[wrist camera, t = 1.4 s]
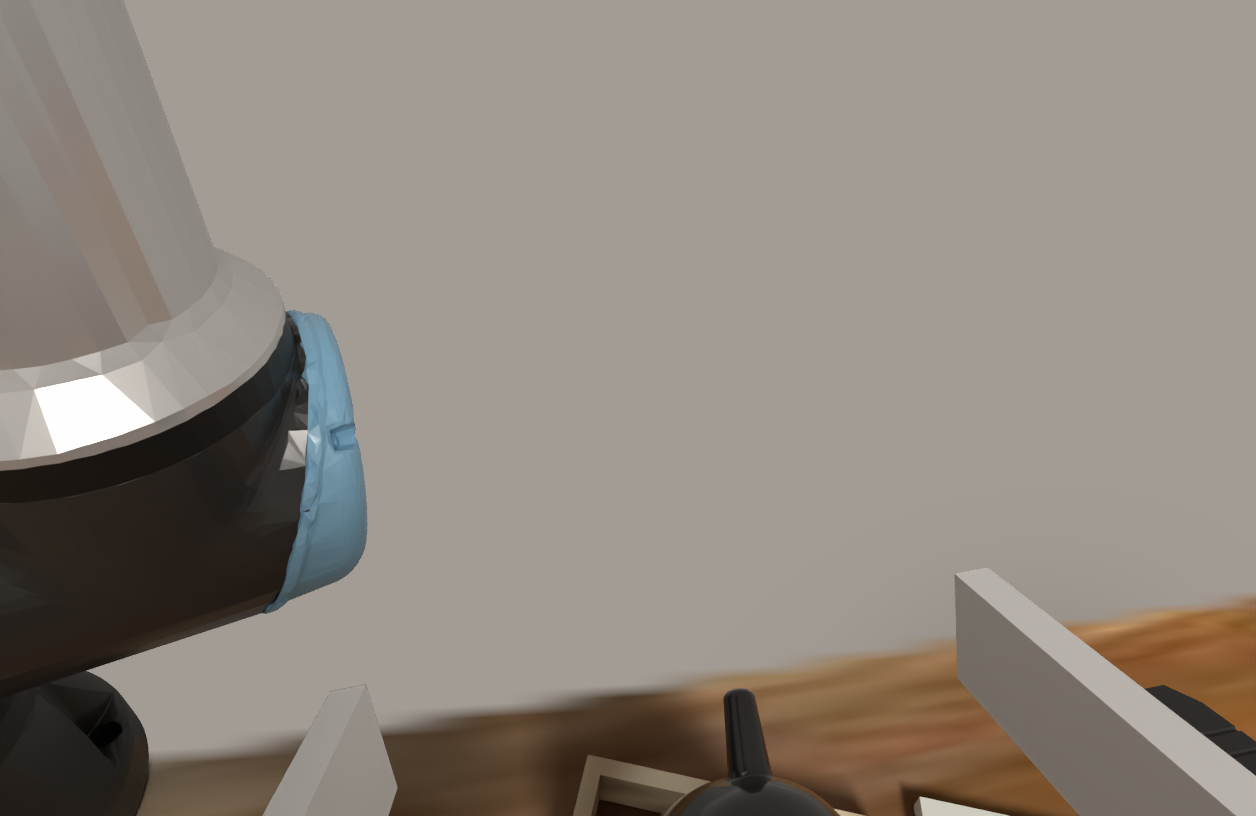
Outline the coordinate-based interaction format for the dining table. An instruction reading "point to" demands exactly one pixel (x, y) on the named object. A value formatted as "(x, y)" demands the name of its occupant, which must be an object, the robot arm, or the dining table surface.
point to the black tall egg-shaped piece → (748, 774)
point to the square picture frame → (634, 787)
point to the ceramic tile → (947, 809)
